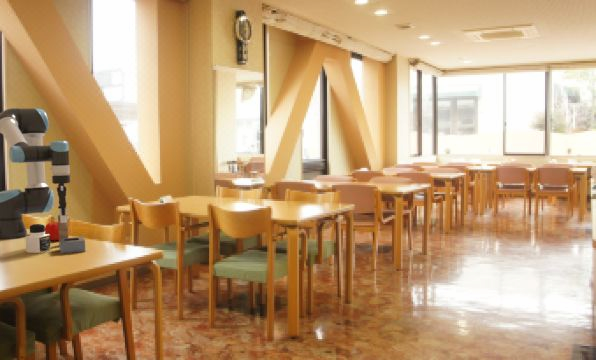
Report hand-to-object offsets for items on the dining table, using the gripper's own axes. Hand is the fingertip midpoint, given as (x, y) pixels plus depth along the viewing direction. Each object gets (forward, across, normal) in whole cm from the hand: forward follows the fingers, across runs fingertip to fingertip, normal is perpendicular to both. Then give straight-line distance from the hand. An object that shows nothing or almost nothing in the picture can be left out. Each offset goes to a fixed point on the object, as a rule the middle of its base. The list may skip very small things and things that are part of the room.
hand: (63, 220), depth 253 cm
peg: (+12, 0, 0) cm, 12 cm away
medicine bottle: (+12, +9, -11) cm, 18 cm away
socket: (+12, +14, +3) cm, 19 cm away
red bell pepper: (+12, -16, -3) cm, 20 cm away
